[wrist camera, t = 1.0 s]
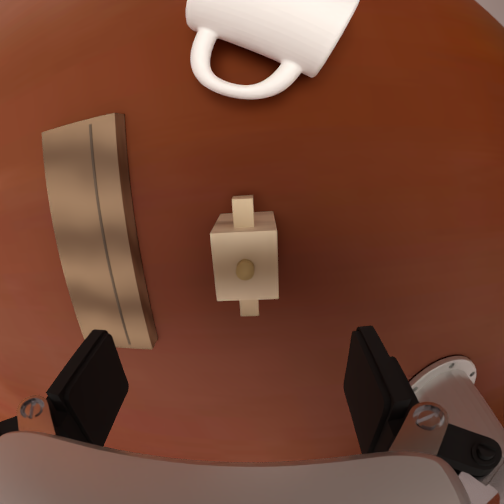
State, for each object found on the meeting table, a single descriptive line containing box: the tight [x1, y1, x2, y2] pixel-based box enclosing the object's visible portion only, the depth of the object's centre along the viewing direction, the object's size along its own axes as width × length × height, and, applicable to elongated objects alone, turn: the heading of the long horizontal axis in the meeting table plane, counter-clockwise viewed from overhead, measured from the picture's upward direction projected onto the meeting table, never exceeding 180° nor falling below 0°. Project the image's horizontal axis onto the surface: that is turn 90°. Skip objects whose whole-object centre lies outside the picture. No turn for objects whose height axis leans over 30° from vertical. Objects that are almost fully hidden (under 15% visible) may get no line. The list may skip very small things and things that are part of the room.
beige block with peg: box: [210, 195, 279, 316], centre depth 24 cm, size 9×4×7 cm, turn 3°
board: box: [42, 113, 158, 349], centre depth 26 cm, size 22×8×2 cm, turn 3°
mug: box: [186, 0, 360, 99], centre depth 17 cm, size 12×10×8 cm
